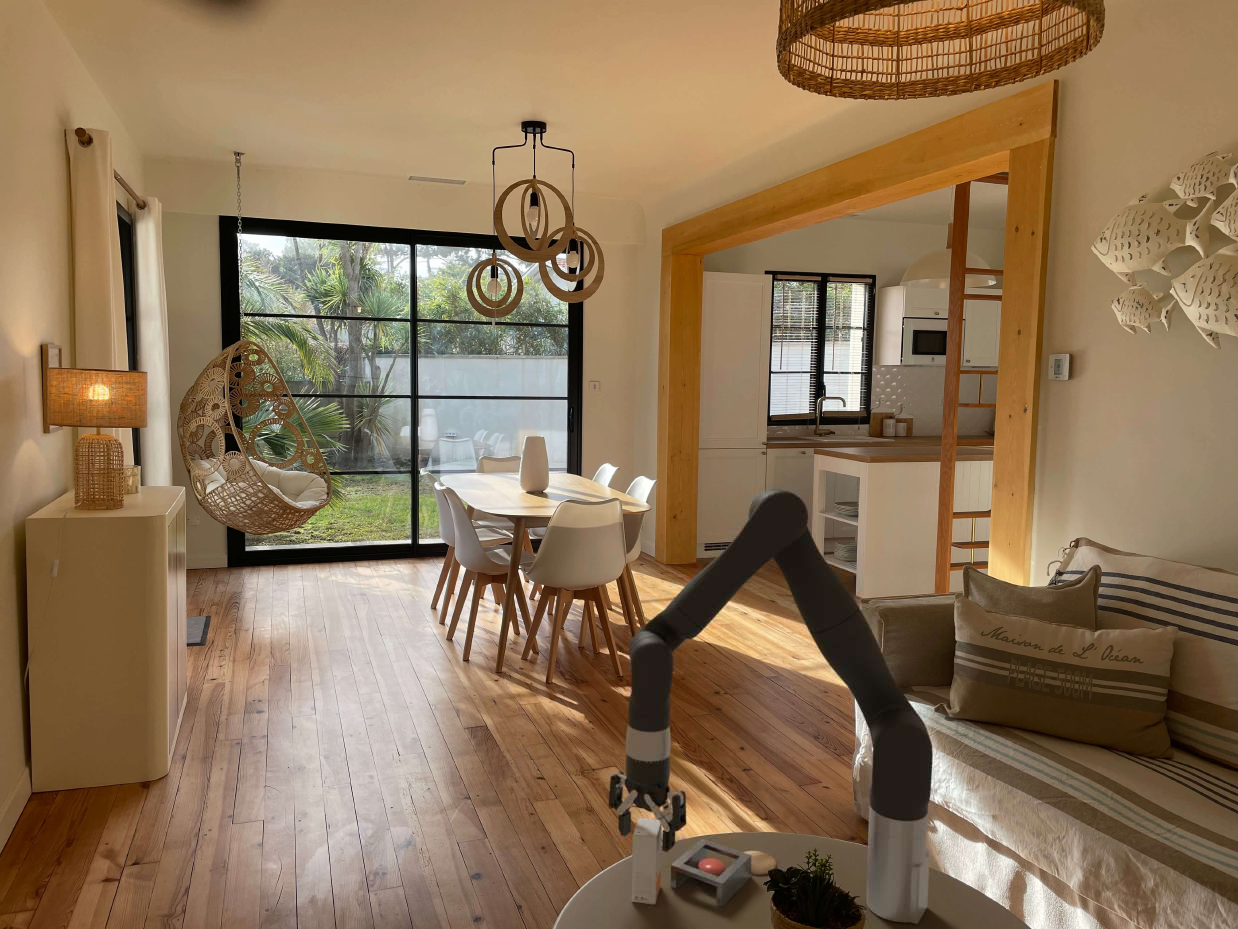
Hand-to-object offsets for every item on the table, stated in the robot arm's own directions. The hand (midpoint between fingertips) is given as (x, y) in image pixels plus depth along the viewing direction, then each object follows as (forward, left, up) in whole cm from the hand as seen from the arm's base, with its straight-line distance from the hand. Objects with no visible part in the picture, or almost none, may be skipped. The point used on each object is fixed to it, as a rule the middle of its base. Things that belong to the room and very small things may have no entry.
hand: (645, 841), depth 149 cm
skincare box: (0, 0, -9) cm, 9 cm away
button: (-8, -10, -8) cm, 14 cm away
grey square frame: (-8, -10, -9) cm, 15 cm away
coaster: (-11, -20, -9) cm, 24 cm away
